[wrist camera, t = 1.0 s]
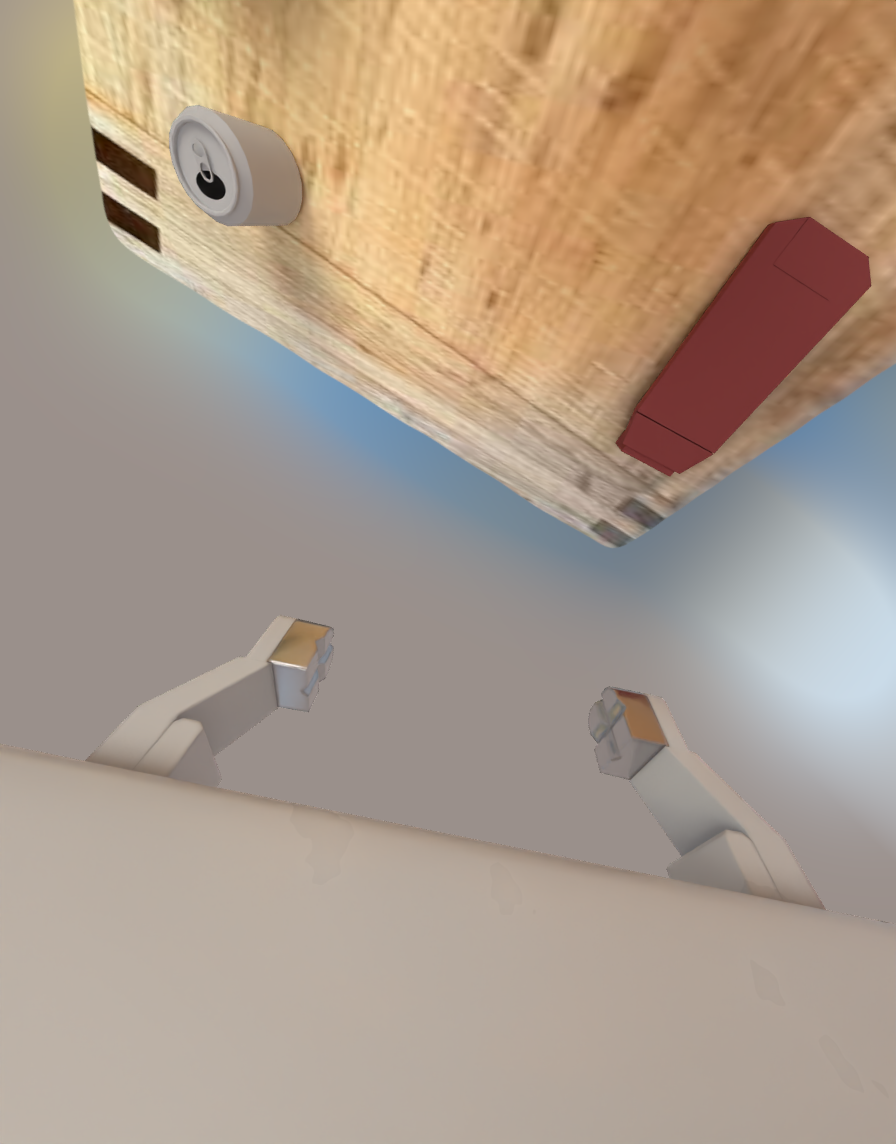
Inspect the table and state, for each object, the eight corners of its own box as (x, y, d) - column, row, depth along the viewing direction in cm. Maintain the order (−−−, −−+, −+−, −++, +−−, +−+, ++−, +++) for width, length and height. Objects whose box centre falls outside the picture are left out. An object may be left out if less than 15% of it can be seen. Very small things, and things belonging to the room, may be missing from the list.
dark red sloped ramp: (760, 214, 37) (603, 436, 52) (790, 203, 33) (611, 446, 48) (848, 273, 38) (671, 472, 53) (886, 269, 34) (684, 485, 49)
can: (253, 220, 43) (181, 220, 35) (233, 122, 38) (143, 94, 29) (311, 230, 43) (252, 232, 34) (299, 132, 37) (226, 106, 29)
